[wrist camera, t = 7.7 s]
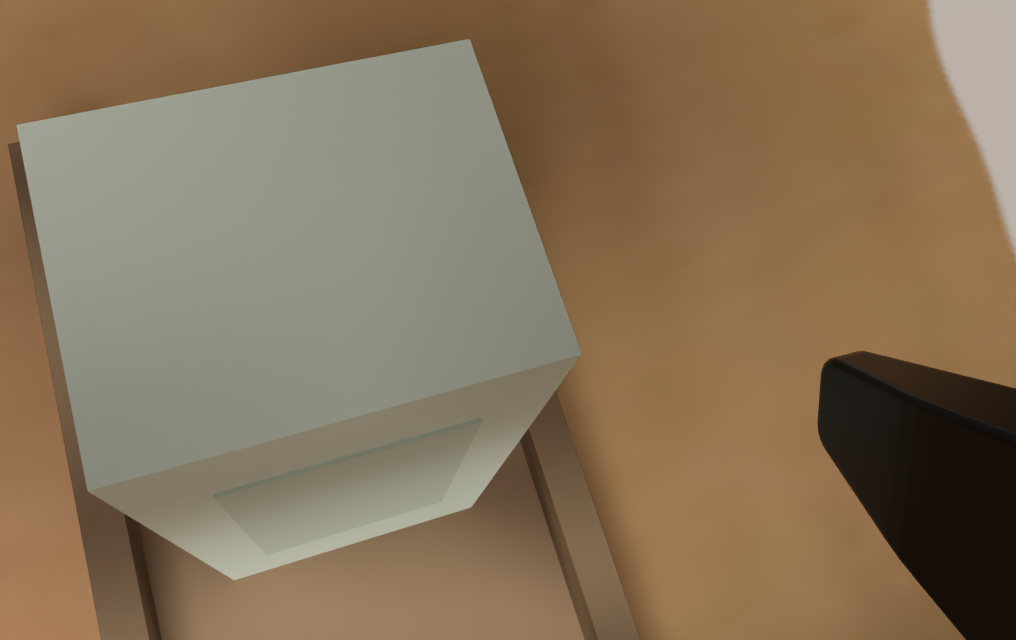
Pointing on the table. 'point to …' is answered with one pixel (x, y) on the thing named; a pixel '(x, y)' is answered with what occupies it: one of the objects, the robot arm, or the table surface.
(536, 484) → the wooden tray
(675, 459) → the table surface
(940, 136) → the table surface
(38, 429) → the table surface
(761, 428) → the table surface
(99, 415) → the pale green recessed block
